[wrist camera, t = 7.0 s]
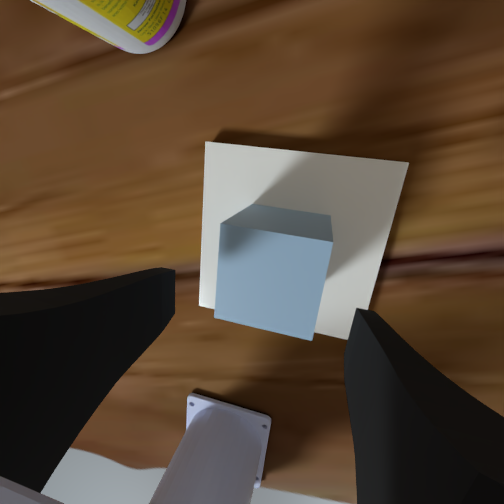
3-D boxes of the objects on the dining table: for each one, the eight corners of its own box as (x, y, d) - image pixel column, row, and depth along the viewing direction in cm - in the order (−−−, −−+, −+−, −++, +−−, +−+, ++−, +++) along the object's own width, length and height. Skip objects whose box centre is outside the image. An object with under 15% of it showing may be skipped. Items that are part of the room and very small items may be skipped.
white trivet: (356, 334, 20) (358, 342, 19) (204, 299, 22) (199, 305, 22) (404, 162, 16) (409, 162, 15) (211, 142, 18) (205, 141, 17)
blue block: (315, 287, 19) (312, 341, 13) (245, 273, 20) (214, 317, 14) (330, 215, 17) (333, 242, 11) (252, 203, 18) (220, 223, 12)
